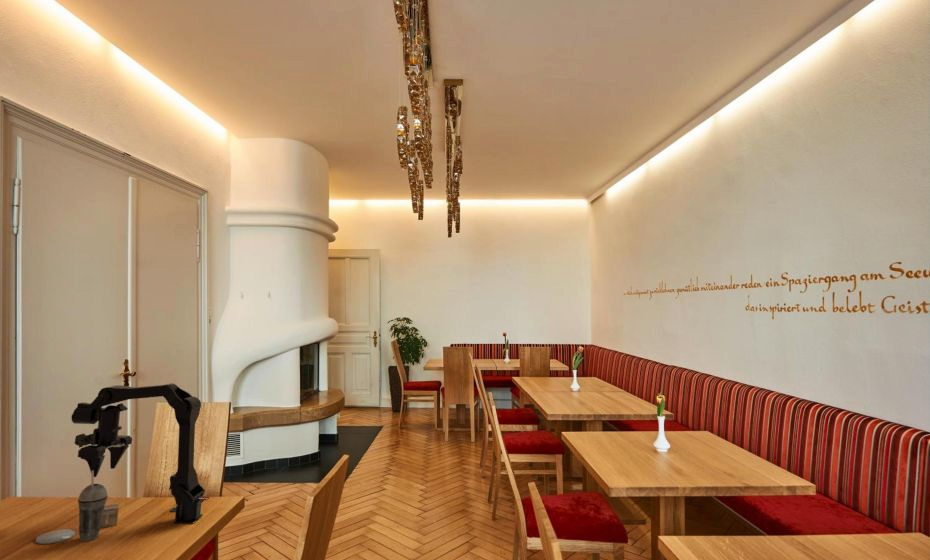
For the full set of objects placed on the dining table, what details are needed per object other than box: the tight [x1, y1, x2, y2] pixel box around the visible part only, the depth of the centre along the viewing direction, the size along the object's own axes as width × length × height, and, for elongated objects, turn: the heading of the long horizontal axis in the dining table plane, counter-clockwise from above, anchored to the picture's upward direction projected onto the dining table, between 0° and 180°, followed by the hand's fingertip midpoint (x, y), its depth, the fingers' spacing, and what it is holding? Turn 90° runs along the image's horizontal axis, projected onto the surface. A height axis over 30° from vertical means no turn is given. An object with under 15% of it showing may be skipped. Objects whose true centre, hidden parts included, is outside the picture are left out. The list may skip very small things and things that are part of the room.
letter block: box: [100, 501, 120, 528], centre depth 159 cm, size 6×6×6 cm
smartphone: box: [169, 495, 210, 513], centre depth 178 cm, size 7×1×15 cm
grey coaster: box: [35, 528, 76, 545], centre depth 148 cm, size 9×9×1 cm
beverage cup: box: [77, 470, 108, 542], centre depth 149 cm, size 7×7×20 cm
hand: (103, 472), depth 164 cm, fingers open, 9 cm apart
